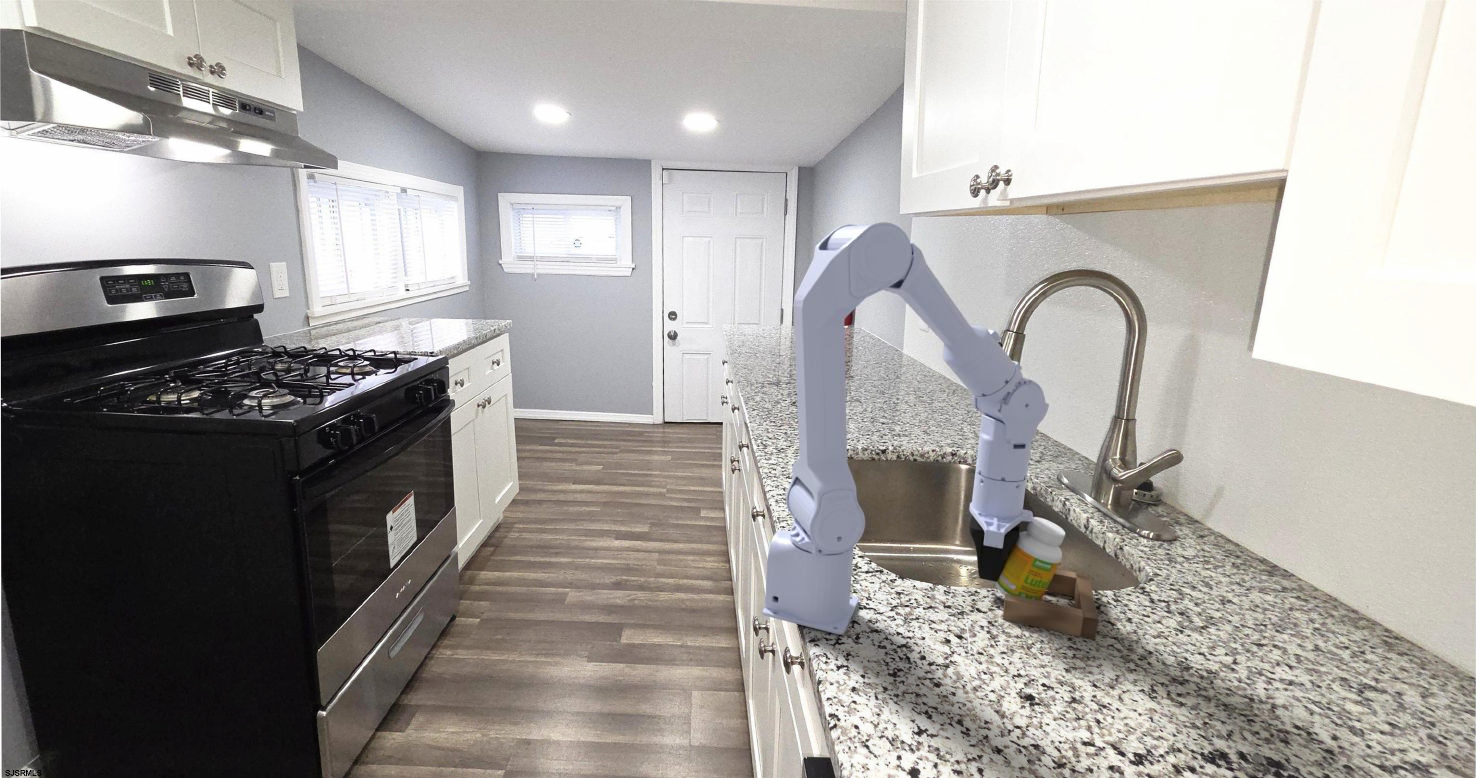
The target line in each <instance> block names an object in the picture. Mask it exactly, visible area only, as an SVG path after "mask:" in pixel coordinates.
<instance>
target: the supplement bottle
mask: <svg viewBox="0 0 1476 778" xmlns="http://www.w3.org/2000/svg"><path fill="white" fill-rule="evenodd" d="M1026 530H1027V531H1025V530H1024V531H1020V532H1019V539H1018V541H1017V543H1016V544H1015V545H1014V546H1013V547H1012V548H1011V550H1010V551H1009V553H1008V555H1007V557H1006V560H1005V562H1004V565H1003V568H1002V571H1001V574H1000V576H999V579H998V580H997V582H995V581H994V582H995V587H996V588H997V590H998V592H999V593H1001V594H1002V595H1003V596H1004V597H1005V594H1009V595H1014V596H1019V597H1024V598H1029V599H1033V600H1038V601H1042V600H1043V598H1044V596H1045V593H1046V592H1047V591H1046V590H1047V588H1048V586H1049V584H1050V582H1051V580H1052V578H1053V575H1054V573H1055V571H1056V569H1058V567H1059V566H1060V563H1061V561H1062V559H1063V552H1062V550H1061V548H1060V547H1059V546H1061V545H1062V543H1063V541H1064V538H1065V537H1066V532H1065V530H1064V529H1063V528H1062V527H1061V526H1059V525H1058V524H1056V523H1054V522H1052V521H1050V520H1048V519H1046V518H1042V517H1037V516H1033V519H1032V521H1031V522H1029V523H1028V524H1027V528H1026Z"/></svg>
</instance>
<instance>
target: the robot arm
mask: <svg viewBox="0 0 1476 778" xmlns="http://www.w3.org/2000/svg"><path fill="white" fill-rule="evenodd" d="M813 252H814V253H813V259H812V261H811V263H810V264H809V266H808V269H807V271H806V274H805V275H804V277H803V279H802V281H801V284H800V285H799V287H798V289H797V291H796V293H795V295H794V299H793V323H794V325H793V326H794V329H793V330H794V346H795V347H794V348H795V349H794V350H795V351H794V353H795V374H796V376H795V377H796V380H795V381H796V403H797V405H796V406H797V427H798V428H797V430H798V432H797V433H798V452H799V453H798V455H799V457H798V459H797V460H796V461H795V462H794V463H793V464H792V466H791V467H792V473H791V474H792V476H791V481H790V483H789V486H788V487H787V490H786V494H785V495H786V496H785V505H786V508H787V510H788V512H789V514H790V515H792V517H793V523H792V526H791V528H790V529H791V530H777V531H776V532H775V534H774V535H773V537H772V539H771V542H770V544H769V549H768V553H767V558H766V578H765V600H764V601H765V603H764V608H763V610H762V615H763V616H765V617H768V618H772V619H776V620H781V621H785V622H787V623H792V624H796V625H800V626H804V627H807V628H811V629H812V628H813V629H815V630H820V631H824V632H827V633H831V634H836V635H841V636H842V635H843V634H844V633H845V632H846V630H847V628H848V626H849V624H850V621H851V619H852V617H853V615H854V613H855V610H856V608H857V606H858V604H859V598H858V597H856V596H853V595H851V588H852V587H851V586H852V577H853V576H852V575H853V574H852V573H853V562H854V561H853V559H854V547H855V545H857V543H858V542H859V541H860V540H861V538H862V536H863V534H864V531H865V529H866V517H865V514H864V511H863V509H862V507H861V506H860V504H859V501H858V498H857V485H856V482H855V481H854V480H855V479H854V477H853V475H852V472H851V469H850V466H849V464H848V447H847V446H848V442H847V434H848V433H847V403H846V402H847V399H846V394H847V391H846V390H847V389H846V388H847V387H846V349H845V348H846V345H845V343H846V341H845V338H846V337H845V336H846V335H845V334H846V333H845V319H846V318H847V317H848V316H849V315H850V314H851V313H852V312H853V311H854V310H855V309H856V308H857V307H858V306H859V305H860V304H861V303H862V302H863V301H864V300H865V299H867V298H869V297H871V296H873V295H875V294H878V293H879V292H882V291H885V292H888V293H892V294H895V295H898V296H899V297H900V298H902V300H903V301H904V302H905V303H906V304H907V305H908V306H909V307H910V309H912V310H913V312H914V313H915V314H916V315H917V316H918V317H919V318H920V319H921V321H923V323H924V324H926V325H927V326H928V328H930V330H931V331H932V332H933V333H934V334H935V335H936V336H937V337H938V339H939V340H940V341H941V342H942V343H943V348H942V359H943V361H944V362H945V364H946V365H947V366H948V367H949V368H950V370H951V371H952V372H953V374H955V375H956V377H957V378H958V379H959V380H960V382H962V384H963V385H964V386H965V387H966V388H967V390H968V391H969V393H971V401H972V405H973V408H974V409H976V410H977V411H978V412H980V413H981V420H980V427H979V437H978V438H979V439H978V446H977V454H976V463H975V464H976V465H975V471H974V472H975V473H974V481H973V488H972V489H973V490H972V499H971V500H972V501H971V502H970V503H969V512H970V514H971V517H970V521H969V528H968V530H969V533H970V536H971V538H972V541H973V543H974V546H975V547H974V548H975V550H976V562H977V563H976V564H977V572H978V577H979V579H981V580H986V581H989V582H997V580H998V579H999V576H1000V574H1001V571H1002V568H1003V565H1004V562H1005V560H1006V557H1007V555H1008V553H1009V551H1010V550H1011V548H1012V547H1013V546H1014V545H1015V544H1016V543H1017V541H1018V539H1019V533H1020V529H1021V528H1020V523H1021V522H1027V523H1028V522H1031V521H1032V519H1033V517H1034V513H1033V512H1032V511H1031V510H1028V509H1024V501H1025V494H1026V486H1027V480H1028V470H1029V464H1030V463H1029V462H1030V455H1031V446H1032V442H1033V439H1036V435H1037V434H1036V433H1037V429H1038V426H1039V425H1040V424H1041V422H1042V421H1043V420H1044V419H1045V417H1046V414H1047V413H1048V411H1049V407H1050V404H1049V403H1047V402H1046V398H1045V394H1044V390H1043V388H1042V387H1041V386H1040V384H1039V383H1038V382H1036V381H1035V380H1032V379H1029V378H1025V377H1023V373H1022V369H1023V367H1022V365H1021V363H1019V362H1018V361H1015V360H1012V358H1011V357H1010V356H1009V355H1008V354H1007V353H1006V351H1005V350H1004V348H1003V347H1002V346H1001V345H1000V343H999V341H1001V339H1002V338H1001V335H1000V334H998V332H997V331H996V330H994V329H987V328H986V327H985V326H984V325H983V326H982V325H970V324H969V322H968V320H967V319H966V318H965V317H964V315H963V314H962V312H961V310H960V309H959V308H958V306H957V305H956V303H955V302H954V301H953V299H952V298H951V297H950V295H949V294H948V292H947V291H946V290H945V288H944V286H943V285H942V283H941V282H940V280H938V278H937V276H936V275H935V274H934V273H933V271H932V269H931V268H930V267H929V265H928V263H927V261H926V258H925V257H924V253H923V252H922V250H921V248H919V247H918V246H917V244H915V243H914V242H911V241H910V238H909V237H908V235H907V233H906V232H905V231H904V230H903V229H902V228H901V227H900V226H899V225H896V224H894V223H892V222H888V221H887V222H886V221H882V222H881V221H878V222H875V223H872V224H852V223H851V224H843V225H840V226H838V227H836V228H835V229H833V230H832V231H831V232H830V233H828V235H826V236H825V237H824V238H823V239H822V240H820V241H819V243H817V244H816V246H815V247H814V251H813Z"/></svg>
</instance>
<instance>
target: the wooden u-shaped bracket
mask: <svg viewBox="0 0 1476 778" xmlns="http://www.w3.org/2000/svg"><path fill="white" fill-rule="evenodd" d="M1046 592H1050V593H1056V594H1061V595H1065V596H1071V597H1073V601H1074V607H1071V606H1065V605H1062V604H1061V605H1060V604H1057V603H1052V602H1048V601H1042V600H1041V601H1038V600H1033V599H1029V598H1024V597H1019V596H1014V595H1009V594H1005V596H1004V602H1003V611H1002V612H1003V613H1002V620H1005V621H1007V622H1012V623H1017V624H1021V625H1027V626H1031V627H1035V628H1040V629H1044V630H1048V631H1053V632H1057V633H1062V634H1067V635H1071V636H1074V637H1075V636H1076V637H1080V638H1085V639H1089V640H1094V641H1096V638H1097V632H1098V631H1097V630H1098V627H1099V626H1098V625H1099V616H1098V610H1097V606H1096V601H1095V597H1094V593H1093V587H1092V584H1091V578H1090V575H1089V574H1085V573H1080V572H1074V571H1069V570H1064V569H1059V568H1057V569H1056V571H1055V573H1054V575H1053V578H1052V580H1051V582H1050V584H1049V586H1048V588H1047V590H1046Z"/></svg>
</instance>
